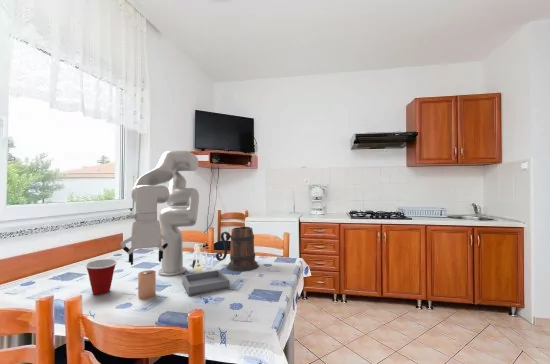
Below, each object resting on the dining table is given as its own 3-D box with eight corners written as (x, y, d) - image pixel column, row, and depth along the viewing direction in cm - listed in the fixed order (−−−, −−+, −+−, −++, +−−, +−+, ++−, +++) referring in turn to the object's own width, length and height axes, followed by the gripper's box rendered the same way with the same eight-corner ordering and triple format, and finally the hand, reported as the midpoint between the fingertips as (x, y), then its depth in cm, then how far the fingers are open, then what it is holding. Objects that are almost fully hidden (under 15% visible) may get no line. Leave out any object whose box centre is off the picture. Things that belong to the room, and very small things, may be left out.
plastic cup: (93, 300, 102) (93, 267, 102) (79, 294, 107) (79, 263, 108) (122, 290, 111) (122, 260, 111) (108, 285, 117) (108, 257, 117)
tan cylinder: (138, 295, 106) (138, 271, 106) (155, 292, 109) (155, 269, 109) (138, 300, 101) (138, 275, 101) (156, 297, 103) (156, 273, 103)
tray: (182, 283, 118) (182, 275, 118) (219, 277, 125) (218, 269, 125) (188, 296, 104) (188, 287, 104) (229, 288, 111) (229, 280, 111)
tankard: (263, 263, 147) (263, 226, 148) (252, 272, 131) (251, 231, 132) (223, 260, 154) (223, 224, 154) (208, 269, 138) (208, 229, 138)
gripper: (119, 219, 98) (119, 268, 97) (171, 216, 105) (171, 261, 105) (121, 217, 104) (120, 263, 104) (169, 215, 112) (169, 258, 111)
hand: (146, 262), depth 104 cm, fingers open, 9 cm apart
